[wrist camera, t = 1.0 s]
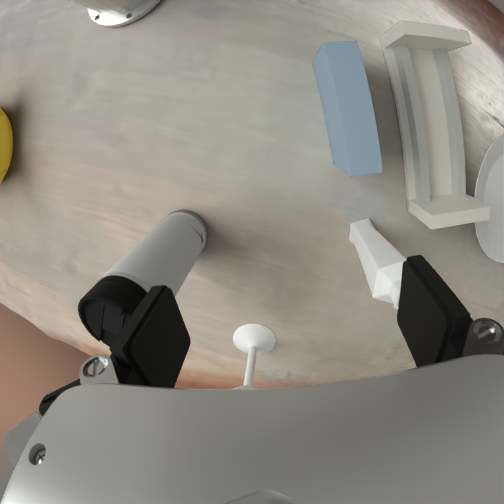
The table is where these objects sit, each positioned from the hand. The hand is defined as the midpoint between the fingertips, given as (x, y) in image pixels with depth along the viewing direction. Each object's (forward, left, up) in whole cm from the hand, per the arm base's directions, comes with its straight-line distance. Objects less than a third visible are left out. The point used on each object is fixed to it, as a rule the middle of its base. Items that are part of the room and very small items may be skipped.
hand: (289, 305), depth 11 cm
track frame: (-5, +20, -24) cm, 31 cm away
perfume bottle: (+8, +9, -24) cm, 27 cm away
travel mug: (+4, -13, -24) cm, 28 cm away
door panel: (-7, +8, -24) cm, 26 cm away
